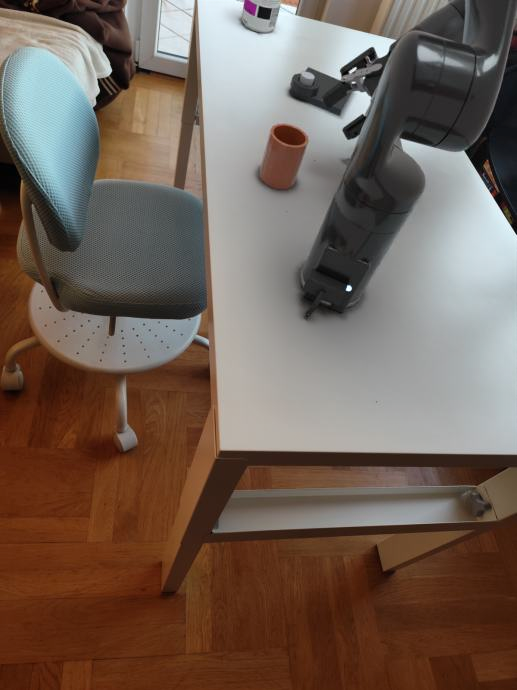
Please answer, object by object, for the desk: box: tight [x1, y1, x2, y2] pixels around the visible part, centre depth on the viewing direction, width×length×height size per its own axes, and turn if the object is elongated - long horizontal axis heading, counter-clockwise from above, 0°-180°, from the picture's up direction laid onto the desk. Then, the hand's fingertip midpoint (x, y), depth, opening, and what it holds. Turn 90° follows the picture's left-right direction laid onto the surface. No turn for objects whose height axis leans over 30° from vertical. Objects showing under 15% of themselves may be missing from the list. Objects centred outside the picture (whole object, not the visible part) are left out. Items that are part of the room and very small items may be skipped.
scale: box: [289, 66, 353, 117], centre depth 102 cm, size 13×12×3 cm
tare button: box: [299, 71, 315, 86], centre depth 98 cm, size 3×3×2 cm
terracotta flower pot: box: [258, 123, 310, 190], centre depth 80 cm, size 6×6×8 cm
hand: (334, 118), depth 76 cm, fingers open, 8 cm apart
